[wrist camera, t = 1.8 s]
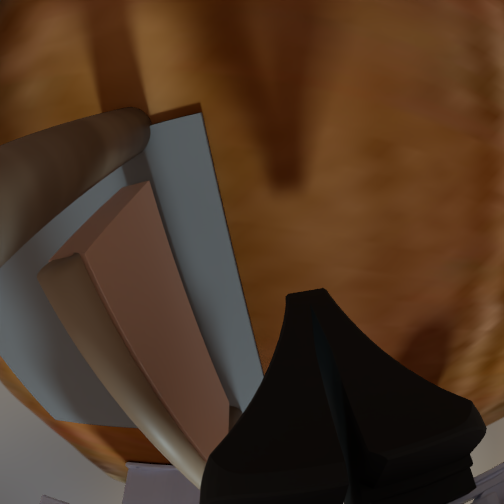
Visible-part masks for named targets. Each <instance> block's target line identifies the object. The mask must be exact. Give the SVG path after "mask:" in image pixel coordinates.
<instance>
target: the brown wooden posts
mask: <svg viewBox="0 0 504 504" xmlns="http://www.w3.org/2000/svg"><path fill="white" fill-rule="evenodd" d="M151 125H152V123H151V121H150V119H149V117H148V116H147V115H146V114H145V113H144V112H143V111H142V110H140V109H137V108H133V107H127V108H122V109H117V110H113V111H109V112H105V113H100V114H96V115H93V116H89V117H85V118H81V119H78V120H74V121H71V122H67V123H64V124H60V125H57V126H54V127H51V128H48V129H45V130H42V131H39V132H36V133H33V134H30V135H27V136H24V137H21V138H19V139H16V140H13V141H11V142H8V143H6V144H3V145H1V146H0V268H1V267H2V266H3V265H4V264H5V263H6V262H7V261H8V260H9V259H10V258H11V257H12V256H13V255H14V254H15V253H16V252H17V251H18V250H19V249H20V248H21V247H22V246H23V245H24V244H26V243H27V242H28V241H29V240H30V239H31V238H32V237H33V236H34V235H35V234H36V233H38V232H39V231H40V230H41V229H42V228H43V227H44V226H45V225H47V224H48V223H49V222H50V221H51V220H52V219H54V218H55V217H56V216H57V215H58V214H60V213H61V212H62V211H63V210H64V209H66V208H67V207H68V206H69V205H70V204H72V203H73V202H74V201H75V200H77V199H78V198H79V197H80V196H82V195H83V194H84V193H86V192H87V191H88V190H89V189H91V188H92V187H93V186H95V185H96V184H97V183H99V182H100V181H101V180H103V179H104V178H105V177H107V176H108V175H109V174H111V173H112V172H114V171H115V170H116V169H118V168H119V167H121V166H122V165H123V164H125V163H126V162H128V161H129V160H131V159H132V158H134V157H135V156H136V155H138V154H139V153H141V152H142V151H143V150H144V149H145V148H146V146H147V144H148V142H149V139H150V126H151ZM242 414H243V413H242V411H241V410H240V409H239V408H237V407H234V406H229V428H228V433H229V432H230V430H231V429H232V428H233V426H234V425H235V424H236V422H237V421H238V419H239V418H240V417H241V415H242Z"/></svg>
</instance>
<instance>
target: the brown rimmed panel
mask: <svg viewBox="0 0 504 504" xmlns="http://www.w3.org/2000/svg"><path fill="white" fill-rule="evenodd" d="M37 279H38V281H39V283H40V285H41V287H42V289H43V291H44V293H45V295H46V296H47V298H48V300H49V302H50V304H51V305H52V307H53V309H54V311H55V312H56V314H57V316H58V318H59V319H60V321H61V323H62V324H63V326H64V328H65V329H66V331H67V332H68V334H69V336H70V337H71V339H72V340H73V342H74V343H75V345H76V346H77V348H78V350H79V351H80V353H81V354H82V356H83V357H84V358H85V360H86V361H87V363H88V364H89V366H90V367H91V369H92V370H93V371H94V373H95V374H96V376H97V377H98V378H99V380H100V381H101V382H102V384H103V385H104V386H105V388H106V389H107V390H108V392H109V393H110V394H111V395H112V397H113V398H114V399H115V401H116V402H117V403H118V404H119V406H120V407H121V408H122V409H123V411H124V412H125V413H126V414H127V415H128V417H129V418H130V419H131V420H132V421H133V422H134V424H135V425H136V426H137V427H138V428H139V429H140V430H141V432H142V433H143V434H144V435H145V436H146V437H147V438H148V439H149V441H150V442H151V443H152V444H153V445H154V446H155V447H156V448H157V449H158V450H159V451H160V452H161V453H162V454H163V455H164V456H165V457H166V458H167V459H168V460H169V461H170V462H171V463H172V464H173V465H174V466H175V467H176V468H177V469H178V470H179V471H180V472H181V473H182V474H183V475H184V476H185V477H186V478H187V479H188V480H189V481H190V482H191V483H192V484H194V485H195V486H196V487H197V488H198V489H199V490H200V486H201V481H202V476H203V472H204V469H205V466H206V463H207V460H208V457H209V455H210V454H211V452H212V451H213V450H214V449H215V448H216V447H217V446H218V445H219V443H220V442H221V441H222V440H223V439H224V438H225V436H226V435H227V434H228V428H229V401H228V399H227V396H226V394H225V392H224V389H223V387H222V385H221V382H220V380H219V377H218V375H217V373H216V370H215V368H214V365H213V363H212V360H211V358H210V355H209V353H208V350H207V348H206V345H205V343H204V340H203V338H202V335H201V333H200V330H199V327H198V325H197V322H196V319H195V317H194V314H193V311H192V309H191V306H190V303H189V301H188V298H187V295H186V292H185V289H184V287H183V284H182V281H181V278H180V275H179V272H178V269H177V267H176V264H175V261H174V258H173V255H172V252H171V249H170V246H169V243H168V240H167V236H166V233H165V230H164V227H163V224H162V221H161V217H160V214H159V211H158V208H157V204H156V201H155V198H154V194H153V191H152V188H151V184H150V181H145V182H141V183H137V184H133V185H129V186H126V187H122V188H121V189H120V190H119V191H118V192H116V193H115V194H114V195H113V196H112V197H111V198H110V199H109V200H108V201H107V202H106V203H105V204H104V205H102V206H101V207H100V208H99V209H98V210H97V211H96V212H95V213H94V214H93V215H92V216H91V217H90V218H89V219H88V220H87V221H86V222H85V223H84V224H83V225H82V226H81V227H80V228H79V229H78V230H77V231H76V232H75V233H74V234H73V235H72V236H71V237H70V238H69V239H68V240H67V241H66V242H65V244H64V245H63V246H62V247H61V248H60V249H59V250H58V251H57V252H56V253H55V254H54V255H53V256H52V258H51V259H50V260H49V263H48V264H46V265H45V266H44V267H43V268H42V269H41V270H40V271H39V273H38V274H37Z"/></svg>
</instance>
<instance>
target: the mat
mask: <svg viewBox="0 0 504 504" xmlns="http://www.w3.org/2000/svg"><path fill="white" fill-rule="evenodd" d="M145 181H150V184H151V188H152V191H153V194H154V198H155V201H156V204H157V208H158V211H159V214H160V217H161V221H162V224H163V227H164V230H165V233H166V236H167V240H168V243H169V246H170V249H171V252H172V255H173V258H174V261H175V264H176V267H177V269H178V272H179V275H180V278H181V281H182V284H183V287H184V289H185V292H186V295H187V298H188V301H189V303H190V306H191V309H192V311H193V314H194V317H195V319H196V322H197V325H198V327H199V330H200V333H201V335H202V338H203V340H204V343H205V345H206V348H207V350H208V353H209V355H210V358H211V360H212V363H213V365H214V368H215V370H216V373H217V375H218V377H219V380H220V382H221V385H222V387H223V389H224V392H225V394H226V396H227V399H228V401H229V406H234V407H237V408H239V409H240V410H241V411H242V413H243V412H244V411H245V409H246V408H247V406H248V405H249V403H250V402H251V400H252V398H253V397H254V395H255V393H256V391H257V389H258V387H259V386H260V384H261V382H262V380H263V378H264V374H263V370H262V366H261V362H260V358H259V354H258V350H257V346H256V342H255V338H254V334H253V330H252V326H251V322H250V318H249V314H248V310H247V306H246V302H245V298H244V294H243V290H242V285H241V281H240V277H239V273H238V269H237V265H236V260H235V256H234V252H233V248H232V243H231V239H230V235H229V231H228V226H227V222H226V218H225V213H224V209H223V205H222V200H221V196H220V192H219V187H218V183H217V179H216V174H215V170H214V165H213V161H212V156H211V152H210V147H209V143H208V138H207V134H206V129H205V125H204V120H203V115H202V112H201V113H197V114H192V115H188V116H184V117H180V118H176V119H172V120H168V121H164V122H161V123H157V124H154V125H151V126H150V139H149V142H148V144H147V146H146V148H145V149H144V150H143V151H142V152H141V153H139V154H138V155H136V156H135V157H134V158H132V159H131V160H129V161H128V162H126V163H125V164H123V165H122V166H121V167H119V168H118V169H116V170H115V171H114V172H112V173H111V174H109V175H108V176H107V177H105V178H104V179H103V180H101V181H100V182H99V183H97V184H96V185H95V186H93V187H92V188H91V189H89V190H88V191H87V192H86V193H84V194H83V195H82V196H80V197H79V198H78V199H77V200H75V201H74V202H73V203H72V204H70V205H69V206H68V207H67V208H66V209H64V210H63V211H62V212H61V213H60V214H58V215H57V216H56V217H55V218H54V219H52V220H51V221H50V222H49V223H48V224H47V225H45V226H44V227H43V228H42V229H41V230H40V231H39V232H38V233H36V234H35V235H34V236H33V237H32V238H31V239H30V240H29V241H28V242H27V243H26V244H24V245H23V246H22V247H21V248H20V249H19V250H18V251H17V252H16V253H15V254H14V255H13V256H12V257H11V258H10V259H9V260H8V261H7V262H6V263H5V264H4V265H3V266H2V267H1V268H0V355H1V357H2V358H3V360H4V361H5V362H6V363H7V365H8V366H9V367H10V369H11V370H12V371H13V372H14V374H15V375H16V376H17V377H18V379H19V380H20V381H21V382H22V383H23V385H24V386H25V387H26V388H27V389H28V390H29V392H30V393H31V394H32V395H33V396H34V397H35V398H36V400H37V401H38V402H39V403H40V404H41V405H42V406H43V407H44V408H45V409H46V410H47V411H48V413H49V414H50V415H51V416H52V417H53V418H54V419H55V420H61V421H68V422H75V423H83V424H92V425H102V426H114V427H128V428H138V427H137V426H136V425H135V424H134V422H133V421H132V420H131V419H130V418H129V417H128V415H127V414H126V413H125V412H124V411H123V409H122V408H121V407H120V406H119V404H118V403H117V402H116V401H115V399H114V398H113V397H112V395H111V394H110V393H109V392H108V390H107V389H106V388H105V386H104V385H103V384H102V382H101V381H100V380H99V378H98V377H97V376H96V374H95V373H94V371H93V370H92V369H91V367H90V366H89V364H88V363H87V361H86V360H85V358H84V357H83V356H82V354H81V353H80V351H79V350H78V348H77V346H76V345H75V343H74V342H73V340H72V339H71V337H70V336H69V334H68V332H67V331H66V329H65V328H64V326H63V324H62V323H61V321H60V319H59V318H58V316H57V314H56V312H55V311H54V309H53V307H52V305H51V304H50V302H49V300H48V298H47V296H46V295H45V293H44V291H43V289H42V287H41V285H40V283H39V281H38V279H37V274H38V273H39V271H40V270H41V269H42V268H43V267H44V266H45V265H46V264H48V263H49V260H50V259H51V258H52V256H53V255H54V254H55V253H56V252H57V251H58V250H59V249H60V248H61V247H62V246H63V245H64V244H65V242H66V241H67V240H68V239H69V238H70V237H71V236H72V235H73V234H74V233H75V232H76V231H77V230H78V229H79V228H80V227H81V226H82V225H83V224H84V223H85V222H86V221H87V220H88V219H89V218H90V217H91V216H92V215H93V214H94V213H95V212H96V211H97V210H98V209H99V208H100V207H101V206H102V205H104V204H105V203H106V202H107V201H108V200H109V199H110V198H111V197H112V196H113V195H114V194H115V193H116V192H118V191H119V190H120V189H121V188H122V187H126V186H129V185H133V184H137V183H141V182H145Z"/></svg>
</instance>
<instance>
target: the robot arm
mask: <svg viewBox="0 0 504 504" xmlns="http://www.w3.org/2000/svg"><path fill="white" fill-rule="evenodd" d="M486 429H487V428H486V426H485V424H484V421H483V419H482V417H481V415H480V413H479V412H478V410H477V409H476V407H475V406H474V404H473V403H472V401H470V400H468V399H466V398H463V397H461V396H458V395H456V394H454V393H451V392H449V391H446V390H444V389H442V388H440V387H438V386H436V385H434V384H432V383H430V382H429V381H427V380H425V379H424V378H422V377H420V376H419V375H417V374H416V373H414V372H412V371H411V370H409V369H407V368H406V367H404V366H403V365H402V364H400V363H399V362H397V361H396V360H395V359H393V358H392V357H391V356H389V355H388V354H387V353H386V352H384V351H383V350H382V349H381V348H379V347H378V346H377V345H376V344H375V343H374V342H373V341H371V340H370V339H369V338H368V337H367V336H366V335H365V334H364V333H363V332H362V331H361V330H360V329H359V328H358V327H357V326H356V325H355V324H354V323H353V322H352V321H351V320H350V319H349V318H348V316H347V315H346V314H345V313H344V312H343V311H342V310H341V308H340V307H339V306H338V305H337V304H336V302H335V301H334V300H333V299H332V297H331V296H330V294H329V293H328V292H327V290H325V289H324V288H321V289H315V290H309V291H303V292H297V293H291V294H288V295H287V296H286V308H285V315H284V321H283V325H282V329H281V333H280V337H279V340H278V343H277V346H276V349H275V352H274V354H273V357H272V360H271V362H270V365H269V367H268V369H267V372H266V374H265V376H264V378H263V380H262V382H261V384H260V386H259V387H258V389H257V391H256V393H255V395H254V397H253V398H252V400H251V402H250V403H249V405H248V406H247V408H246V409H245V411H244V412H243V414H242V415H241V417H240V418H239V419H238V421H237V422H236V424H235V425H234V426H233V428H232V429H231V430H230V432H229V433H228V434H227V435H226V436H225V438H224V439H223V440H222V441H221V442H220V443H219V445H218V446H217V447H216V448H215V449H214V450H213V451H212V452H211V454H210V455H209V457H208V460H207V463H206V466H205V469H204V472H203V476H202V481H201V486H200V490H199V489H198V488H197V487H196V486H195V485H194V484H192V483H191V482H190V481H189V480H188V479H187V478H186V477H185V476H184V475H183V474H182V473H181V472H180V471H179V470H178V469H177V468H176V467H175V466H174V465H157V464H144V463H133V462H126V466H127V467H128V468H129V470H128V475H127V480H126V485H125V490H124V496H123V501H122V504H343V503H344V504H464V503H466V502H468V501H471V500H473V499H474V501H473V503H471V504H504V462H503V463H501V464H499V465H497V466H496V467H494V468H492V469H490V470H488V471H486V472H484V473H482V474H480V475H478V476H477V477H474V478H473V475H472V472H471V469H470V467H471V466H472V465H473V462H472V459H471V456H470V453H471V452H472V451H473V450H474V448H475V447H476V446H477V445H478V444H479V443H480V442H481V440H482V439H483V437H484V436H485V433H486ZM40 504H69V503H66V502H63V501H60V500H57V499H54V498H51V497H49V496H46V495H43V496H42V497H41V501H40Z"/></svg>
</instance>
